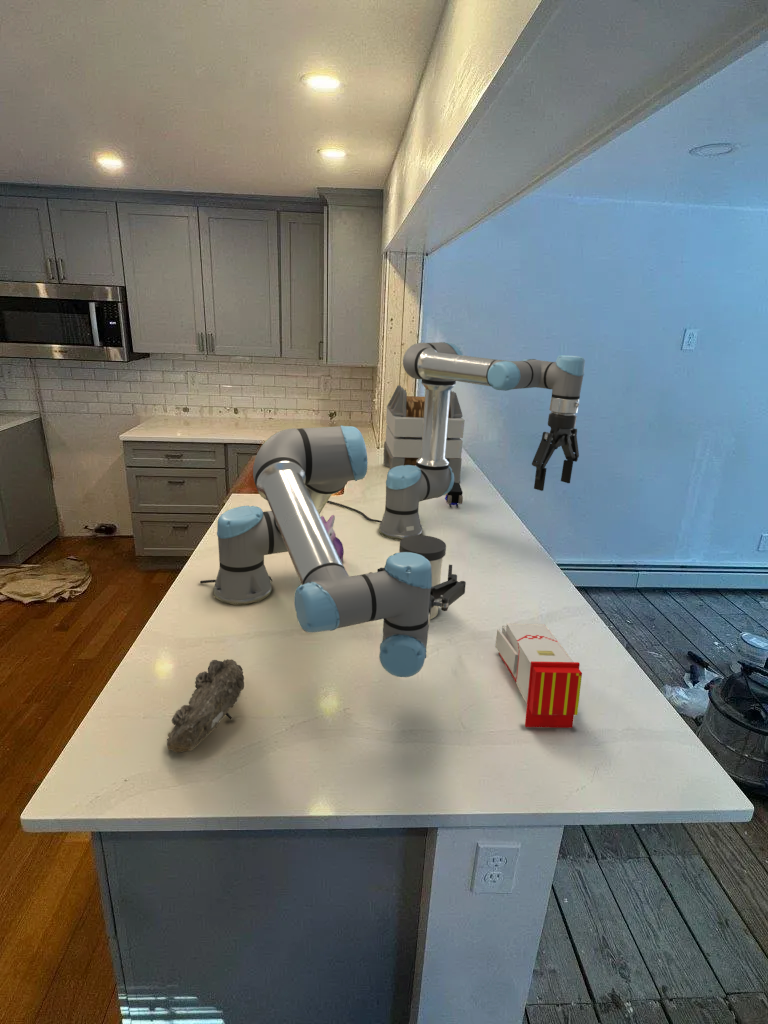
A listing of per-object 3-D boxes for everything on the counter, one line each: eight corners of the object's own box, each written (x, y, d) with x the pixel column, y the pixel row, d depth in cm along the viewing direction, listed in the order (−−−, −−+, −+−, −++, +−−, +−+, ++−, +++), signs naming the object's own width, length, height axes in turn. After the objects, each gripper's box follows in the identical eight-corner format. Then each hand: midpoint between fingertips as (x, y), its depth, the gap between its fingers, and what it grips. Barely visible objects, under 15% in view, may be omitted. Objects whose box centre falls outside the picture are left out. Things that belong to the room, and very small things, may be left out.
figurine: (321, 571, 169) (321, 524, 164) (309, 557, 177) (309, 512, 172) (350, 565, 173) (351, 520, 168) (337, 553, 182) (338, 509, 177)
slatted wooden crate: (382, 463, 289) (386, 382, 275) (445, 464, 293) (451, 384, 279) (390, 482, 257) (394, 392, 243) (460, 483, 261) (468, 394, 247)
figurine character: (463, 512, 227) (458, 497, 241) (465, 495, 224) (459, 480, 237) (446, 512, 227) (442, 496, 241) (448, 495, 224) (444, 480, 237)
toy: (542, 608, 134) (591, 669, 104) (537, 660, 136) (583, 734, 107) (491, 607, 133) (526, 668, 104) (487, 660, 136) (520, 733, 107)
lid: (413, 539, 152) (414, 531, 151) (453, 550, 146) (453, 542, 145) (390, 553, 142) (391, 545, 141) (431, 565, 136) (432, 557, 136)
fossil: (192, 660, 117) (244, 628, 112) (224, 691, 120) (276, 661, 115) (142, 746, 98) (202, 712, 93) (182, 779, 101) (242, 748, 96)
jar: (410, 597, 156) (415, 534, 150) (444, 608, 151) (450, 544, 145) (391, 612, 148) (394, 546, 142) (426, 625, 143) (431, 557, 137)
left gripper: (343, 625, 108) (363, 577, 128) (475, 639, 105) (474, 588, 125) (344, 590, 105) (364, 546, 125) (479, 603, 103) (477, 557, 122)
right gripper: (548, 419, 148) (537, 496, 155) (598, 411, 163) (586, 482, 171) (525, 414, 153) (515, 489, 160) (575, 407, 169) (564, 476, 176)
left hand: (419, 567), depth 125 cm, fingers open, 13 cm apart
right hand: (552, 485), depth 166 cm, fingers open, 13 cm apart
